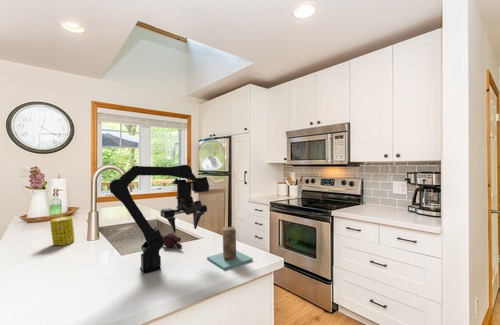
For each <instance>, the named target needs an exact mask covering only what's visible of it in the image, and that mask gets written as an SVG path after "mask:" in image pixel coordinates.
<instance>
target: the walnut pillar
mask: <svg viewBox="0 0 500 325" xmlns="http://www.w3.org/2000/svg"><path fill="white" fill-rule="evenodd" d="M236 232H237V231H236V228H235V226H224V227H222V248H223V249H222V253H223V257H224V261H225V260H235V259H236V251H237V237H236V236H237V233H236Z"/></svg>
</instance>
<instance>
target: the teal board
mask: <svg viewBox="0 0 500 325" xmlns="http://www.w3.org/2000/svg"><path fill="white" fill-rule="evenodd" d="M206 259H207V260H208V261H209V262H210V263H213V265H215V266H217V267H219V268H220V269H222V270H223V271H226V270H229V269H232V268H235V267H239V266H241V265H244V264H249V263H251V262H253V261H254V259H253V257H250V256H248V255H247V254H244V253H243V252H240V251H238V250H236V259H235V260H225V261H224V257H223V252H220V253H216V254H213V255H209V256H206Z"/></svg>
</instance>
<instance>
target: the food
mask: <svg viewBox="0 0 500 325" xmlns="http://www.w3.org/2000/svg"><path fill="white" fill-rule="evenodd" d="M50 230H51V231H50V232H51V240H52V245H54V246H65V245H69V244H72V243H74V242H75V238H76V237H75V228H74V222H73V217H72V216H62V215H60V217H59V216H57V217H55V218H54V217H53V218H52V219H50Z"/></svg>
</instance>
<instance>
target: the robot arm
mask: <svg viewBox="0 0 500 325" xmlns="http://www.w3.org/2000/svg"><path fill="white" fill-rule="evenodd" d="M139 176H156V177H157V176H161V177H163V176H164V177H165V176H168V177H169V176H170V177H175V179H174V180H173V181H172V182H171V184H172V185H176V195H177V196H175V198H176V200H177V202H176V203H177V205H176V208H175V209H173V208H170V207H169V208H162V209H161V210H160V211H159V212H160V213H159V214H160V217H161V218H163V219H166V220H167V221H168V223H169V225H170V228H171V230H172V233H173V234H176V233H177V232H176V231H177V229H176V217H175V215H180V214H185V215H187V216H188V215H189V216H190V215H192V217H193V228H194V229H195V230H197V228H198V224H199V221H200V219H201V216H203V215H205V213H206V212H208V207H207V206H208V205H206V204H202V201H201V200H196V201H194V199H193V196H192V192H193V193H194V194H201V193H202V194H203V193H208V192H209V191H210V184H209V181H208V177H207V176H202V177H201V176H200V177H196V175H195V174H194V173H193V170H192V167H191V166H190V165H188V164H178V165H177V164H176V165H170V166H150V165H148V166H147V165H145V166H143V165H135V164H134V165H132V166H131V167H130V168H129V169H128V170H127V171H126V172H124V173H123V174H122V175H121V176H120V177H118V178H114V179H112V180H111V181H110V182H109V184H108V188H109V191H110V192H111V194H112V195H113V196H114V197H115V198H116V199H117V200H118V201H120V202H121V203H122V204H123V206H124V207H125V209H126V210H127V212H128V213H129V215H130V216H131V217H132V219H133V221H134V222H135V223H136V225H137V226H138V228H139V229H140V231H141V233H142V235H143V237H144V239H145V242H144V243H143V244H142V245H141V246H140V249H141V251H142V253H140V267H139V269H140V270H141V271H142V274H148V273H151V272H155V271H158V270H161V269H162V267H161V265H162V261H161V260H162V259H161V255H160V252H161V249H162V248H163V247H164V246H165V245H164V241H163V239H162V238H164V237H163V236H164V235H163V234H162V233H161V232H160V229H159V227H157V226H155V227H154V228H153V226H152V225H151V224H150V223H149V221H148V220H147V219H146V218H145V215H144V214H143V213H142V211H141V209H140V208H139V207H138V205H137V204H136V202H135V200H134V199H133V197H132V195H131V192H130V190H129V188H128V186H129V185H130V184H131V183H132V182H134V180H136V178H137V177H139ZM178 178H179V179H178ZM187 180H188V181H187Z"/></svg>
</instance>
